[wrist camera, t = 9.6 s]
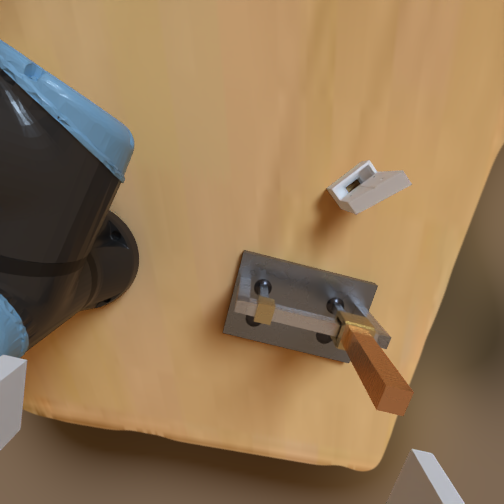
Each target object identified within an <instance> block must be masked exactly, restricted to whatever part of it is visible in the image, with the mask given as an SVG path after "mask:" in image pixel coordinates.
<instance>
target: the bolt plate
mask: <svg viewBox="0 0 504 504" xmlns="http://www.w3.org/2000/svg"><path fill="white" fill-rule="evenodd" d="M241 277H244V278H248V279H251V288H250V298H254V299H258V290H259V286H260V284H264V285H268V294H269V298H272V299H274V300H275V304H278V305H282V306H286V307H290V308H294V309H299V310H303V311H307V312H311V313H315V314H319V315H323V316H327V317H331V318H335V315H334V314H333V312H332V310H331V308H332V305H333V303H337V304H341V306H342V307H343V309H344V310H345V312H347V313H351V314H354V311H355V308H356V306H359V307H363V308H366V309H367V310H368V311H369V308H370V306H371V303H372V300H373V298H374V295H375V292H376V290H377V287H378V286H377V285H376V284H375V283H372V282H368V281H364V280H360V279H356V278H352V277H348V276H344V275H340V274H337V273H333V272H329V271H325V270H321V269H317V268H313V267H309V266H305V265H301V264H297V263H293V262H289V261H286V260H282V259H278V258H274V257H270V256H266V255H262V254H258V253H254V252H250V251H246V250H244V252H243V256H242V260H241V264H240V268H239V272H238V276H237V279H236V283H235V287H234V291H233V295H232V299H231V303H230V306H229V310H228V314H227V318H226V322H225V326H224V330H223V333H226V334H230V335H234V336H238V337H242V338H246V339H250V340H255V341H259V342H263V343H267V344H271V345H275V346H279V347H284V348H288V349H292V350H296V351H300V352H304V353H308V354H313V355H317V356H321V357H325V358H329V359H333V360H337V361H342V362H346V363H349V362H350V358H349V356H348V354H347V353H346V351H345V350H341V349H337V348H336V347H335V345H334V343H333V341H332V339H331V337H330V335H327V334H323V333H319V332H314V331H310V330H306V329H302V328H298V327H294V326H290V325H286V324H282V323H278V322H274V321H271V324H270V325H267V324H263V323H258V322H254V317H253V316H249V315H245V314H241V313H237V312H234V309H235V303H236V297H237V291H238V286H239V282H240V278H241Z"/></svg>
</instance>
